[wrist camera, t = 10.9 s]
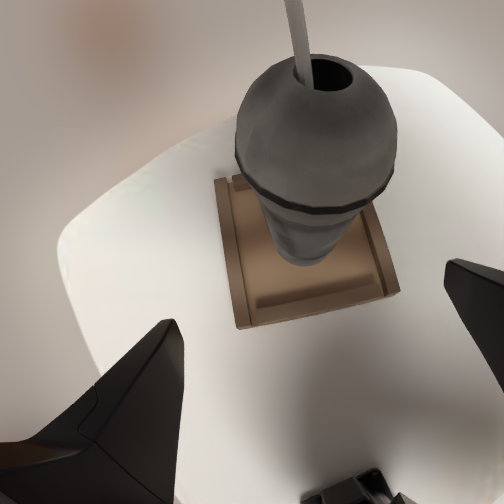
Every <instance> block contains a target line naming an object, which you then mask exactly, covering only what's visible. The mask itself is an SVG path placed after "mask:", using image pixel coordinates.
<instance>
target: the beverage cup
mask: <svg viewBox="0 0 504 504" xmlns="http://www.w3.org/2000/svg"><path fill="white" fill-rule="evenodd" d="M284 1H285V6H286V11H287V17H288V21H289V27H290V33H291V38H292V44H293V50H294V56H293V57H290V58H288V59H286V60H283V61H281V62H279V63H277V64H275V65H272V66H271V67H270V68H269V69H267V70H266V71H265V72H264V73H263V74H262V75H261V76H260V77H258V78H257V79H256V80H255V81H254V82H253V84H252V85H251V86H250V88H249V90H248V91H247V93H246V96H245V98H244V100H243V102H242V104H241V106H240V109H239V112H238V116H237V128H236V135H235V158H236V161H237V163H238V166H239V168H240V171H241V173H242V175H243V177H244V178H245V179H246V180H247V181H248V182H249V185H250V186H251V188H252V189H253V191H254V193H255V194H256V196H257V197H258V199H259V202H260V205H261V208H262V211H263V214H264V217H265V219H266V222H267V225H268V228H269V231H270V234H271V237H272V240H273V242H274V245H275V247H276V249H277V251H278V253H279V254H280V255H281V256H282V258H283V259H284V260H286V261H287V262H289V263H291V264H293V265H297V266H301V267H302V266H312V265H315V264H317V263H320V262H321V261H322V260H323V259H324V258H326V257H327V255H328V254H329V253H330V252H331V251H332V250H333V249H334V247H335V246H336V244H337V243H338V242H339V240H340V239H341V237H342V236H343V235H344V233H345V232H346V230H347V229H348V227H349V226H350V225H351V223H352V222H353V220H354V219H355V217H356V216H357V214H358V213H359V212H360V211H361V210H362V209H363V208H364V207H366V206H367V205H368V204H369V203H370V202H371V201H372V200H374V199H375V198H376V197H377V196H378V195H380V194H381V193H382V192H383V191H384V190H385V188H386V186H387V184H388V183H389V181H390V179H391V177H392V175H393V173H394V162H395V158H396V150H397V123H396V119H395V116H394V113H393V110H392V108H391V106H390V103H389V101H388V98H387V96H386V94H385V93H384V91H383V90H382V88H381V87H380V86H379V85H378V84H377V83H376V81H375V80H374V79H373V78H372V77H371V76H370V75H369V74H368V73H366V72H365V71H364V70H362V69H361V68H359V67H358V66H356V65H355V64H353V63H351V62H349V61H346V60H343V59H341V58H338V57H335V56H329V55H324V54H310V51H309V43H308V36H307V29H306V22H305V15H304V9H303V3H302V0H284Z"/></svg>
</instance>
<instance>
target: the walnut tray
mask: <svg viewBox="0 0 504 504" xmlns="http://www.w3.org/2000/svg"><path fill="white" fill-rule="evenodd" d="M232 180H233V183H227V180H226V177H224V178H220V179H215V180H214V184H215V192H216V199H217V206H218V213H219V220H220V227H221V234H222V241H223V247H224V254H225V260H226V267H227V273H228V280H229V286H230V292H231V299H232V305H233V311H234V317H235V323H236V328H238V329H239V330H241V329H246V328H252V327H257V326H263V325H268V324H273V323H278V322H283V321H288V320H293V319H298V318H303V317H308V316H312V315H317V314H321V313H326V312H330V311H334V310H339V309H343V308H347V307H351V306H355V305H360V304H364V303H368V302H371V301H375V300H379V299H383V298H387V297H391V296H394V295H395V294H397V293H398V292H400V287H399V283H398V280H397V276H396V273H395V269H394V266H393V263H392V259H391V256H390V253H389V250H388V247H387V243H386V240H385V237H384V234H383V231H382V228H381V225H380V222H379V220H378V217H377V214H376V211H375V208H374V206H373V203H372V201H371V202H370V203H369V204H368V205H367V206H366V207H364V208H363V209H362V210H361V211H360V212H359V213H358V214H357V216H356V217H355V219H354V220H353V222H352V223H351V225H350V226H349V227H348V229H347V230H346V232H345V233H344V235H343V236H342V237H341V239H340V240H339V242H338V243H337V244H336V246H335V247H334V249H333V250H332V251H331V252H330V253H329V254H328V255H327V257H326V258H324V259H323V260H322V261H321V262H320V263H317V264H315V265H312V266H302V267H301V266H297V265H293V264H291V263H289V262H287V261H286V260H284V259H283V258H282V256H281V255H280V254H279V253H278V251H277V249H276V247H275V245H274V242H273V240H272V237H271V234H270V231H269V228H268V225H267V222H266V219H265V217H264V214H263V211H262V208H261V205H260V202H259V199H258V197H257V196H256V194H255V193H254V191H253V189H252V188H251V186H250V185H249V182H248V181H247V180H246V179H245V178H244V177H243V175H242V174H239V175H234V176H232Z"/></svg>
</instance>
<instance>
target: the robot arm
mask: <svg viewBox="0 0 504 504" xmlns="http://www.w3.org/2000/svg"><path fill="white" fill-rule="evenodd" d="M444 287H445V290H446V292H447V293H448V295H449V297H450V299H451V301H452V303H453V305H454V306H455V308H456V310H457V312H458V314H459V316H460V318H461V320H462V322H463V323H464V325H465V327H466V328H467V330H468V331H469V333H470V334H471V336H472V338H473V339H474V341H475V343H476V344H477V346H478V348H479V349H480V351H481V353H482V354H483V356H484V358H485V359H486V361H487V363H488V365H489V366H490V368H491V370H492V372H493V374H494V375H495V377H496V379H497V381H498V383H499V385H500V387H501V389H502V390H503V392H504V271H501V270H497V269H494V268H490V267H487V266H483V265H480V264H476V263H473V262H469V261H466V260H462V259H458V258H456V259H452V260H449V261H447V263H446V268H445V276H444ZM183 393H184V341H183V337H182V335H181V333H180V330H179V328H178V325H177V323H176V321H175V320H174V319H165V320H161V321H160V322H159V323H158V324H157V325H156V326H155V327H153V328H152V329H151V330H150V331H149V332H148V333H147V334H146V335H145V336H144V337H143V338H142V339H141V340H140V341H139V342H138V343H137V344H136V345H135V346H133V347H132V348H131V349H130V350H129V351H128V352H127V353H126V354H125V355H124V356H123V357H122V358H121V359H120V360H119V361H118V362H117V363H116V364H115V365H114V366H112V367H111V368H110V369H109V370H108V371H107V372H106V373H105V374H104V375H103V376H102V377H101V378H100V379H99V380H98V381H97V382H96V383H95V384H94V386H92V387H91V388H90V389H89V390H87V391H86V392H85V393H84V394H83V395H82V396H81V397H80V398H79V399H78V400H77V401H76V402H75V403H74V404H72V405H71V406H70V407H69V408H68V409H66V410H65V411H64V412H63V413H62V414H60V415H59V416H58V417H57V418H55V419H54V420H53V421H52V422H50V423H49V424H48V425H47V426H46V427H44V428H43V429H42V430H41V431H40V432H38V433H37V434H35V435H34V436H33V437H31V438H29V439H26V440H23V441H19V442H0V504H173V501H174V487H175V474H176V462H177V450H178V440H179V430H180V420H181V411H182V402H183ZM374 472H377V474H376V475H375V476H372V474H373V473H374ZM301 504H417V503H415V502H414V501H412V500H411V499H409V498H408V497H406V496H405V495H403V494H402V493H400V492H399V493H398V494H397V495H396V496H395V497H394V498H393V496H392V494H391V492H390V490H389V488H388V486H387V483H386V481H385V479H384V477H383V475H382V473H381V471H380V470H379V469H378V468H372V469H370V470H368V471H366V472H365V473H363V474H361V475H359V476H357V477H351V478H349V479H347V480H345V481H343V482H341V483H339V484H336V485H334V486H332V487H330V488H328V489H325V490H323V491H322V492H321V494H319V495H316V496H314V497H311V498H309V499H307V500H304V501H302V502H301Z"/></svg>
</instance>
